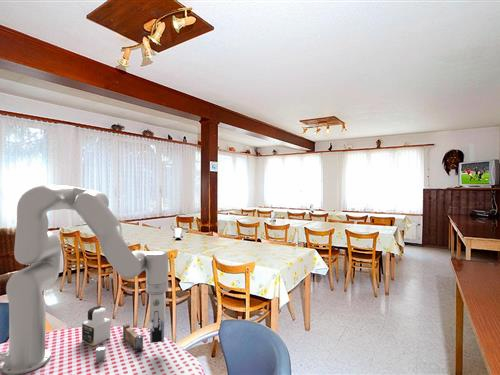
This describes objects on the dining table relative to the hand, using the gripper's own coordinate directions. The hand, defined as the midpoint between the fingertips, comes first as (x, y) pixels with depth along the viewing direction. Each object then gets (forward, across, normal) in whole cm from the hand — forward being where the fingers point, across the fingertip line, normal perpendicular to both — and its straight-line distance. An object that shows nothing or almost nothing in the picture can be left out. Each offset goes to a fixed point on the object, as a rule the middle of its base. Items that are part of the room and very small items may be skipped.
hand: (157, 337), depth 100 cm
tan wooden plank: (+5, +9, +10) cm, 15 cm away
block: (+1, 0, 0) cm, 1 cm away
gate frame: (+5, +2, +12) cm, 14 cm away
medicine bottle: (+6, +15, +23) cm, 28 cm away
